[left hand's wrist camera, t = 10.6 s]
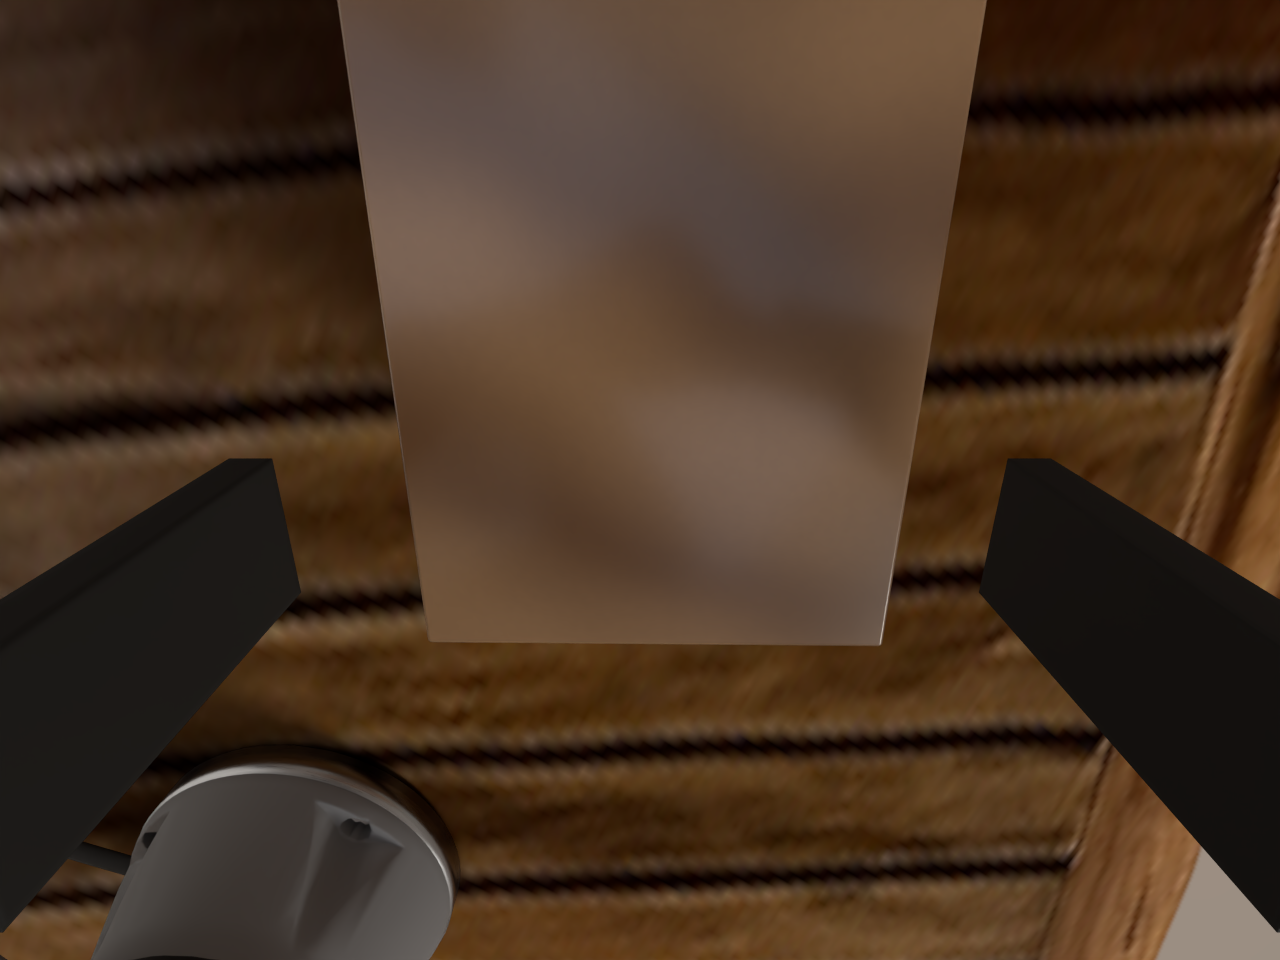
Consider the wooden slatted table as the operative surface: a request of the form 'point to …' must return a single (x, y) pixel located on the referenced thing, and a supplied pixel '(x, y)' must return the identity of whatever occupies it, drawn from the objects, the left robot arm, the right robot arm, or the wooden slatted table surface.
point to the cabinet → (659, 302)
